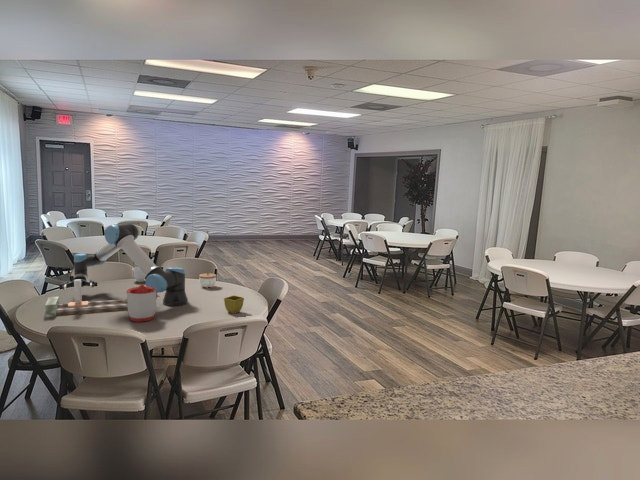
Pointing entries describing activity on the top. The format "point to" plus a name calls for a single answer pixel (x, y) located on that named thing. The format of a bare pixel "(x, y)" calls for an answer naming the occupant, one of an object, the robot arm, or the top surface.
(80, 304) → the carriage
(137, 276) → the teacup
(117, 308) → the rail
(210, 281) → the lidded bowl
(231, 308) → the flower pot
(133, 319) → the citrus juicer
